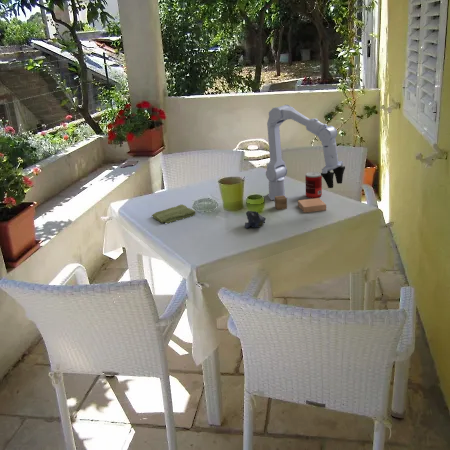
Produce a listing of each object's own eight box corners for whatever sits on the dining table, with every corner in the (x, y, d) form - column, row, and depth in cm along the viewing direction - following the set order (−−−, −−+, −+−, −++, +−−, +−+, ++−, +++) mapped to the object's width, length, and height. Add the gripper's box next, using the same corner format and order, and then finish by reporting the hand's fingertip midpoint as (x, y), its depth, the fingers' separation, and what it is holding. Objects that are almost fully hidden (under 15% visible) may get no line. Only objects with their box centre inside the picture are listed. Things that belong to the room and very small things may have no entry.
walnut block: (275, 206, 224) (274, 196, 222) (284, 205, 225) (284, 195, 223) (277, 209, 220) (277, 199, 218) (287, 208, 221) (286, 198, 219)
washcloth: (150, 218, 223) (149, 211, 222) (184, 209, 232) (183, 202, 231) (162, 226, 213) (162, 219, 212) (197, 216, 221) (197, 209, 220)
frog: (253, 233, 197) (252, 216, 194) (238, 225, 206) (237, 209, 203) (271, 227, 201) (270, 211, 198) (256, 220, 210) (255, 205, 207)
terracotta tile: (297, 205, 223) (297, 200, 222) (319, 203, 224) (318, 197, 223) (304, 212, 214) (304, 207, 213) (326, 209, 215) (326, 204, 214)
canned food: (321, 193, 238) (321, 171, 234) (322, 198, 230) (322, 175, 226) (305, 193, 239) (304, 172, 235) (306, 198, 231) (305, 176, 227)
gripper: (330, 158, 201) (334, 189, 205) (347, 150, 211) (351, 181, 214) (315, 159, 206) (320, 190, 210) (333, 151, 216) (337, 181, 219)
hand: (335, 185), depth 212 cm, fingers open, 7 cm apart
